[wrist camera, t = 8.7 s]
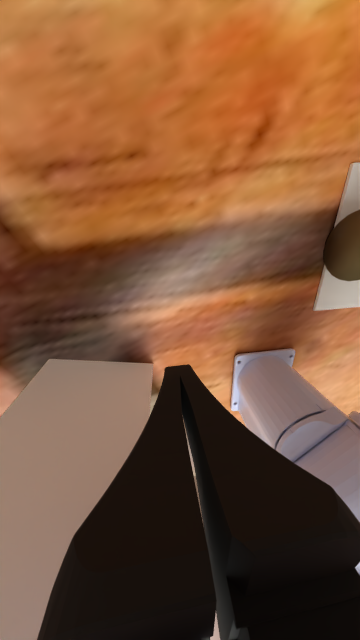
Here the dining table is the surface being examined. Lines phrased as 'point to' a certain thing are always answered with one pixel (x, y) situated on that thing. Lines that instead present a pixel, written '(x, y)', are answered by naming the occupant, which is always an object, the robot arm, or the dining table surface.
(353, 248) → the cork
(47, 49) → the dining table surface
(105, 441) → the milk
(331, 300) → the mat
